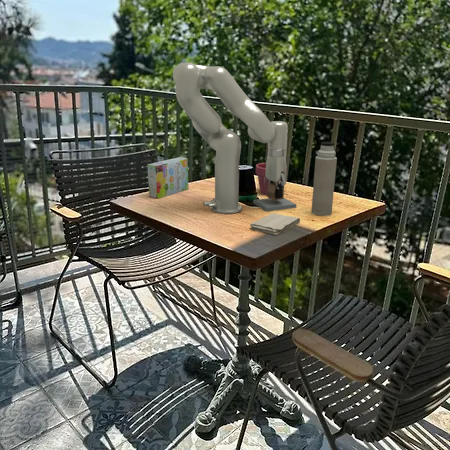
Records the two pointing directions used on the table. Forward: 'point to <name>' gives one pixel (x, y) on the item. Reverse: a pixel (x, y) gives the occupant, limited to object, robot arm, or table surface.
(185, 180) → the snack box
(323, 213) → the thermos bottle
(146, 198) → the table surface
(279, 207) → the slate board
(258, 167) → the plant pot
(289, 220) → the washcloth
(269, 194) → the walnut block
